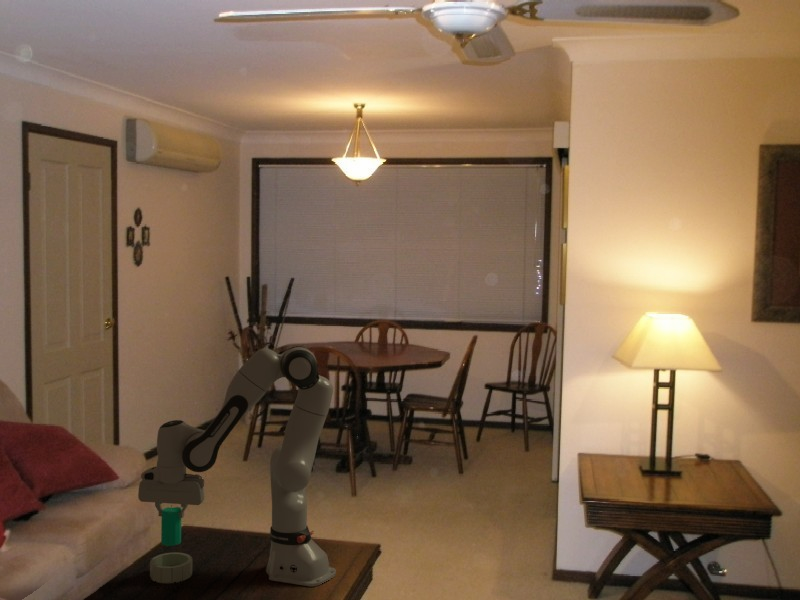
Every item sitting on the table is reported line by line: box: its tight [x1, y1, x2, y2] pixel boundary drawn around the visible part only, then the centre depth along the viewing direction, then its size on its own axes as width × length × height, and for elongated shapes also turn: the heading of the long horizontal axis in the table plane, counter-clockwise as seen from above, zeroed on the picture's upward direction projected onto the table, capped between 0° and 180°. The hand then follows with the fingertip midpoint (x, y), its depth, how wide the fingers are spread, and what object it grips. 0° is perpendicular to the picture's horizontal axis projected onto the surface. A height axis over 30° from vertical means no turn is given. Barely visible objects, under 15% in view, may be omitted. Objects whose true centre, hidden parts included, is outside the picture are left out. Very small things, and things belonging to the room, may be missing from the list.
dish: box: [149, 552, 193, 584], centre depth 265 cm, size 12×12×5 cm
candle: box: [160, 504, 182, 547], centre depth 264 cm, size 6×6×12 cm
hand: (171, 516), depth 264 cm, fingers closed on candle, 5 cm apart
